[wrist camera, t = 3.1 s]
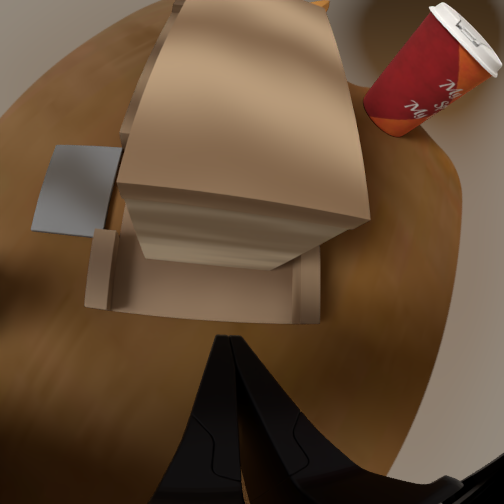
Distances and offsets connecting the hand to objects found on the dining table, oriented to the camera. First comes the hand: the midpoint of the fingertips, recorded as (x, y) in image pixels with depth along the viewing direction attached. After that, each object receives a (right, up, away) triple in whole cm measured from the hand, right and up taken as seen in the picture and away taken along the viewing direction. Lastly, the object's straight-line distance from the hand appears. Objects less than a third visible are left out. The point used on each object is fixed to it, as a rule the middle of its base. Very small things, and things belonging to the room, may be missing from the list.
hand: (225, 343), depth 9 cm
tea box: (-1, +9, +8) cm, 12 cm away
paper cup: (+14, +17, +16) cm, 27 cm away
